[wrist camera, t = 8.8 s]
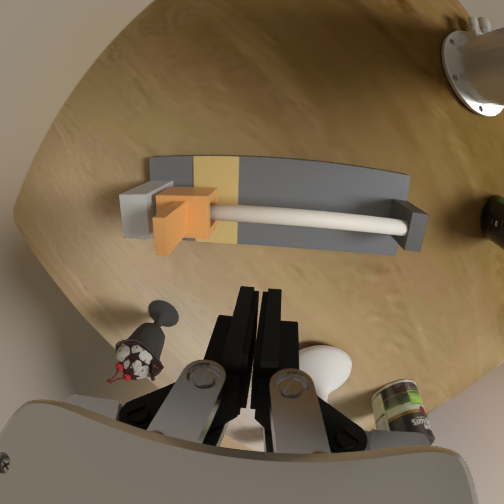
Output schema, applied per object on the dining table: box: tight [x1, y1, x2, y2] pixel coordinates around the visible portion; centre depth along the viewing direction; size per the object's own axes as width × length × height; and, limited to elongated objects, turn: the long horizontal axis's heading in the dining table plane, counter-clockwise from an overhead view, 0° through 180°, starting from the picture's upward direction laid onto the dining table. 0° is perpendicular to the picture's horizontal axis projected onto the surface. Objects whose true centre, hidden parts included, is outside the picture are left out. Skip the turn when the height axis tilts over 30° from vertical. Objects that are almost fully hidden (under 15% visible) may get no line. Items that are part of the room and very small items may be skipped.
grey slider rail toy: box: [119, 155, 429, 256], centre depth 27 cm, size 30×10×8 cm, turn 88°
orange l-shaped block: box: [152, 187, 218, 256], centre depth 24 cm, size 5×4×9 cm
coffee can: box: [371, 379, 435, 445], centre depth 37 cm, size 10×10×14 cm
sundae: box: [107, 301, 179, 383], centre depth 32 cm, size 7×7×15 cm
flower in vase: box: [299, 345, 352, 402], centre depth 30 cm, size 13×11×25 cm
